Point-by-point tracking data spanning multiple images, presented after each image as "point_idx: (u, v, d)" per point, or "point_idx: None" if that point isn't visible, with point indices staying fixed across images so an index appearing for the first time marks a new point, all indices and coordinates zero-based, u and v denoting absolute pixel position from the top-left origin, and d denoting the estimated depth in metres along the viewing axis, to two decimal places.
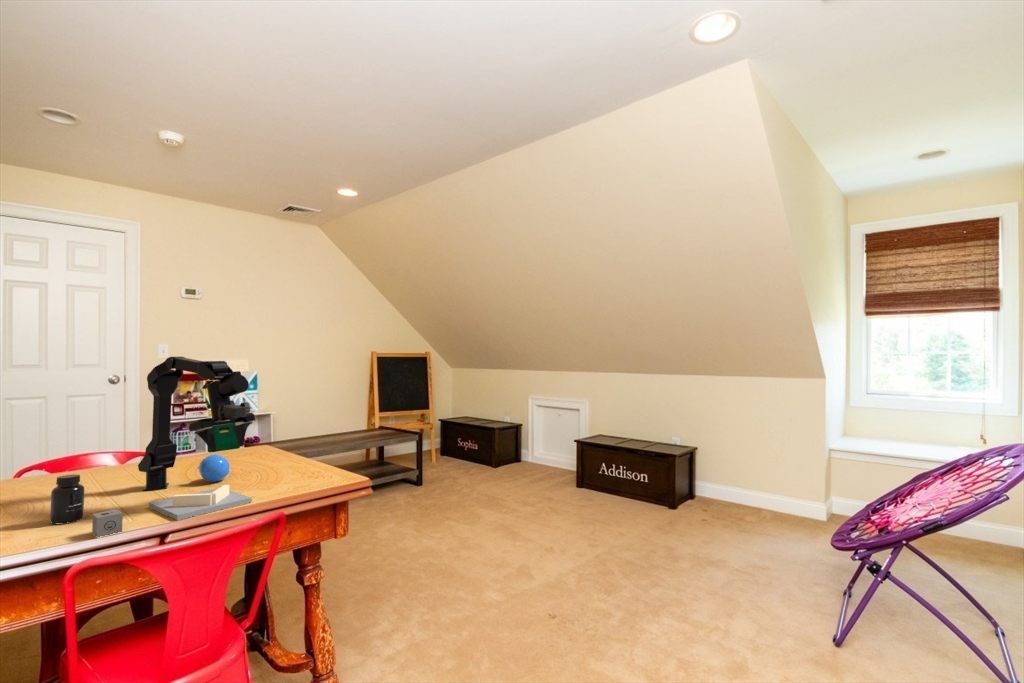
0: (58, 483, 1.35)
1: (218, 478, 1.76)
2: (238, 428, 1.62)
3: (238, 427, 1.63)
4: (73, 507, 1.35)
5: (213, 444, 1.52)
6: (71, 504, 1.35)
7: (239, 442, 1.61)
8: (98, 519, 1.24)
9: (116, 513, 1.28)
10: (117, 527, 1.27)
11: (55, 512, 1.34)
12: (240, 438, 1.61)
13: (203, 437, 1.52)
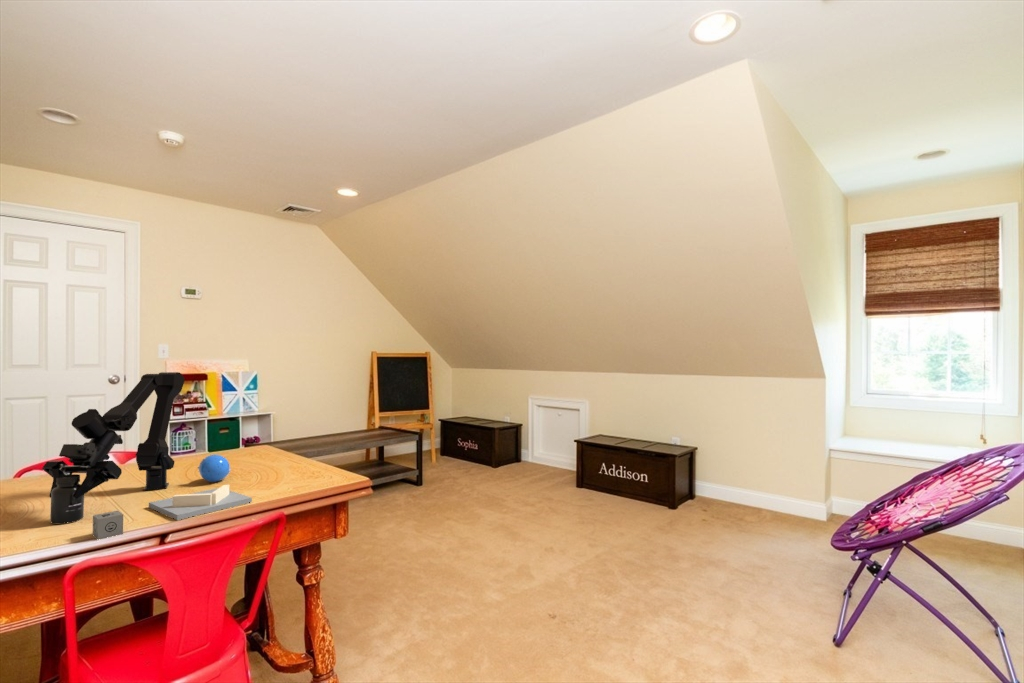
0: (58, 483, 1.35)
1: (218, 478, 1.76)
2: None
3: None
4: (72, 507, 1.35)
5: (52, 488, 1.37)
6: (71, 504, 1.35)
7: None
8: (99, 520, 1.23)
9: (117, 514, 1.27)
10: (118, 528, 1.26)
11: (55, 512, 1.34)
12: None
13: None
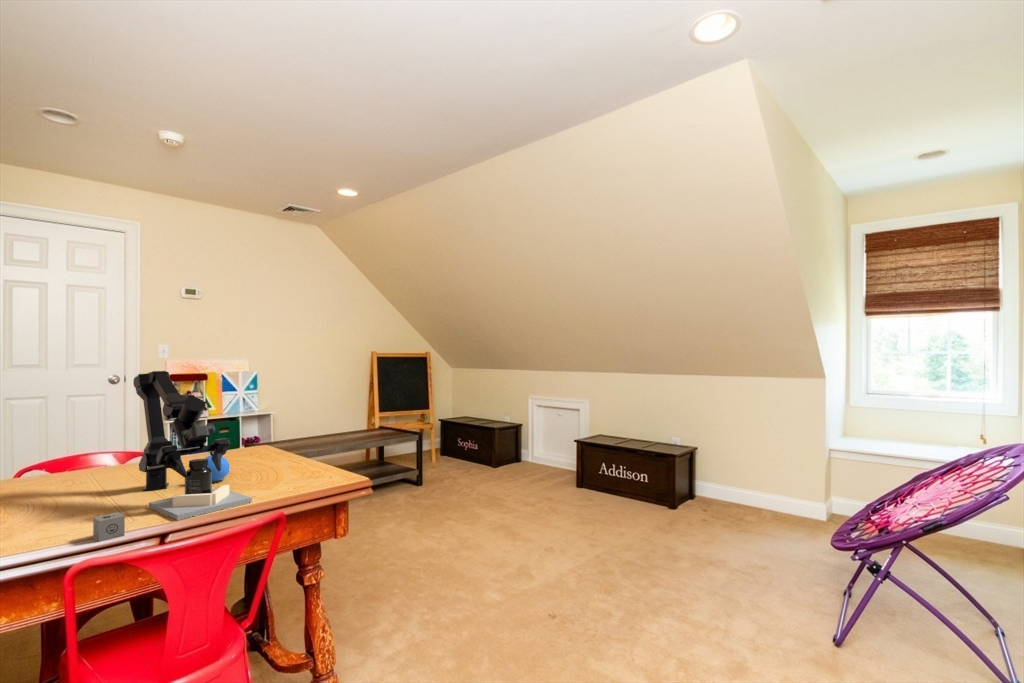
0: (200, 465, 1.49)
1: (218, 478, 1.76)
2: (214, 455, 1.57)
3: (214, 455, 1.57)
4: (211, 485, 1.52)
5: (182, 469, 1.46)
6: (211, 482, 1.51)
7: (217, 467, 1.54)
8: (100, 522, 1.22)
9: (118, 516, 1.25)
10: (119, 530, 1.25)
11: (202, 491, 1.48)
12: (217, 463, 1.55)
13: (173, 467, 1.48)
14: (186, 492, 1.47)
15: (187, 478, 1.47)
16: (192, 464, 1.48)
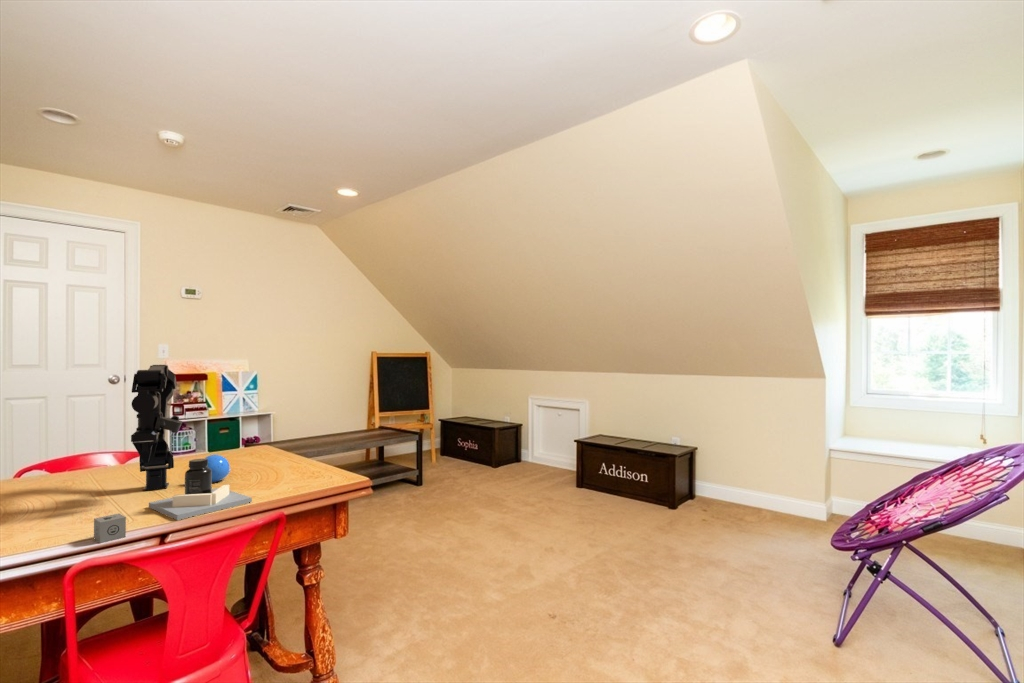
0: (200, 465, 1.49)
1: (218, 478, 1.76)
2: None
3: None
4: (211, 485, 1.52)
5: (149, 456, 1.53)
6: (211, 482, 1.51)
7: (150, 453, 1.61)
8: (101, 524, 1.21)
9: (119, 517, 1.24)
10: (120, 532, 1.24)
11: (202, 491, 1.48)
12: (152, 449, 1.61)
13: (139, 448, 1.51)
14: (186, 492, 1.47)
15: (187, 478, 1.47)
16: (192, 464, 1.48)
